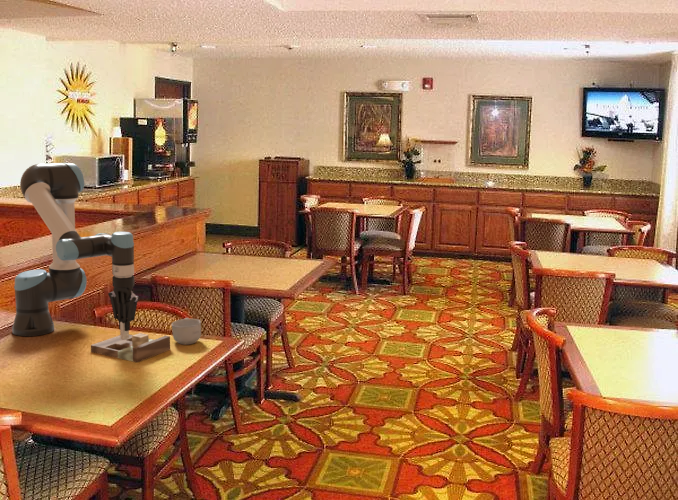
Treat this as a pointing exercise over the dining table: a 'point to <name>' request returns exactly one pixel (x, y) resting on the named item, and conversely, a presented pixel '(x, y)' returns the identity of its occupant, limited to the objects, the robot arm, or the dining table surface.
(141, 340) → the block
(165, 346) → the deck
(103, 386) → the dining table surface
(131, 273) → the robot arm
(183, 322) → the teacup
